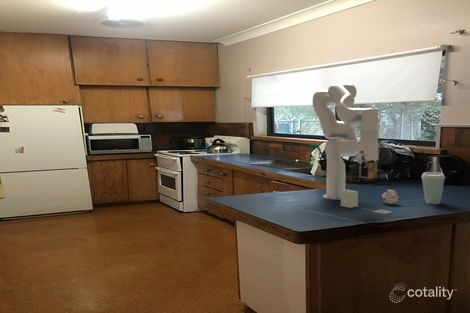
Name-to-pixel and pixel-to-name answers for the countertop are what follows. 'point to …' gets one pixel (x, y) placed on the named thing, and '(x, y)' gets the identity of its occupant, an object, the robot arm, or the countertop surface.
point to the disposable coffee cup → (433, 186)
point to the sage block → (349, 198)
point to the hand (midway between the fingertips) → (368, 175)
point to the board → (376, 211)
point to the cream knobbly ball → (390, 196)
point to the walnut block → (370, 170)
